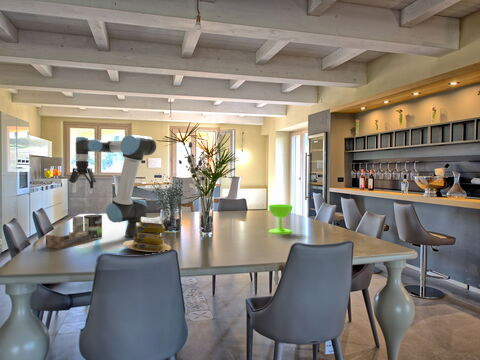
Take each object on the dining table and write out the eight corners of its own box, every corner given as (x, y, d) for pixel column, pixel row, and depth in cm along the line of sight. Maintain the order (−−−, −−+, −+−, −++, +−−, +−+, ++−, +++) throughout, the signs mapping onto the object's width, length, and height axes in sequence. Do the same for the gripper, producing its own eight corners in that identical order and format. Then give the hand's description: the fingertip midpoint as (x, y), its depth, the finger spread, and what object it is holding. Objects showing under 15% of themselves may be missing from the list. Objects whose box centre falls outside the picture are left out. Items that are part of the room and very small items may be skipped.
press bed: (92, 241, 202) (92, 230, 202) (61, 248, 183) (61, 236, 183) (76, 239, 207) (76, 228, 206) (45, 247, 187) (45, 235, 187)
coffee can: (105, 237, 215) (105, 214, 215) (95, 240, 205) (95, 216, 204) (91, 236, 217) (90, 214, 217) (80, 239, 207) (80, 216, 206)
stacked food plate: (174, 243, 196) (173, 214, 195) (166, 254, 171) (166, 221, 171) (130, 244, 195) (130, 215, 194) (116, 255, 170) (116, 221, 170)
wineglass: (294, 234, 224) (294, 207, 223) (269, 234, 224) (269, 206, 224) (290, 230, 240) (290, 204, 239) (267, 229, 240) (267, 204, 239)
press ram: (88, 238, 202) (88, 216, 202) (79, 240, 196) (79, 217, 196) (78, 237, 205) (78, 215, 205) (68, 239, 199) (68, 217, 198)
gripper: (63, 160, 226) (63, 192, 227) (92, 160, 217) (93, 194, 218) (72, 160, 233) (72, 191, 234) (101, 160, 224) (101, 193, 225)
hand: (82, 192), depth 226 cm, fingers open, 13 cm apart
